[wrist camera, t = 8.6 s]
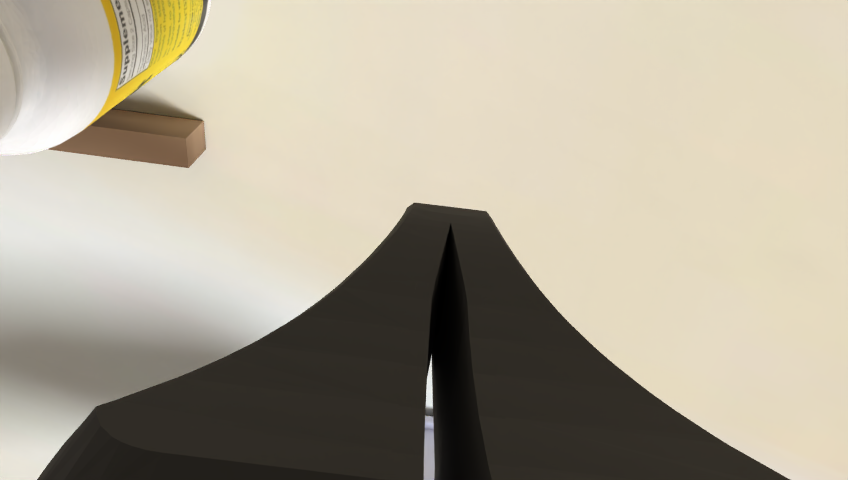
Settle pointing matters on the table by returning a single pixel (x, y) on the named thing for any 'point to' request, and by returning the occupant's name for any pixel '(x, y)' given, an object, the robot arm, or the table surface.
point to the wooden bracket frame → (140, 138)
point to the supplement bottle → (82, 61)
